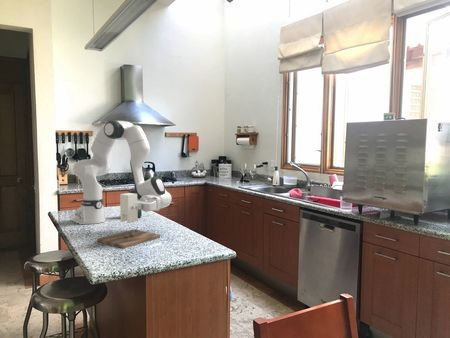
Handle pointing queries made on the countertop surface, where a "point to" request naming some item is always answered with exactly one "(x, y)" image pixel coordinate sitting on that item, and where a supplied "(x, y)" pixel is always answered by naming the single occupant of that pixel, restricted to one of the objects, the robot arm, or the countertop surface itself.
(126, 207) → the housing
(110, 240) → the stub board
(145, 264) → the countertop surface
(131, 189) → the coffee jar
